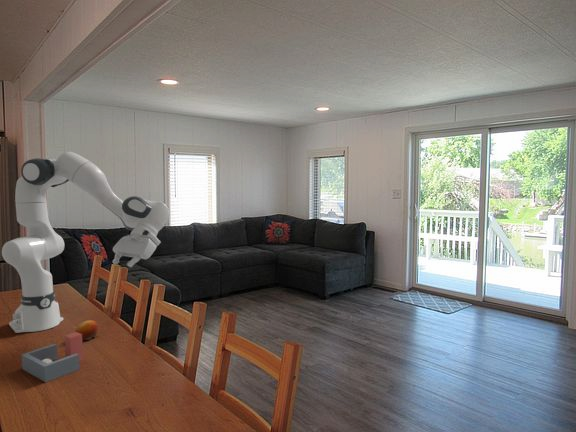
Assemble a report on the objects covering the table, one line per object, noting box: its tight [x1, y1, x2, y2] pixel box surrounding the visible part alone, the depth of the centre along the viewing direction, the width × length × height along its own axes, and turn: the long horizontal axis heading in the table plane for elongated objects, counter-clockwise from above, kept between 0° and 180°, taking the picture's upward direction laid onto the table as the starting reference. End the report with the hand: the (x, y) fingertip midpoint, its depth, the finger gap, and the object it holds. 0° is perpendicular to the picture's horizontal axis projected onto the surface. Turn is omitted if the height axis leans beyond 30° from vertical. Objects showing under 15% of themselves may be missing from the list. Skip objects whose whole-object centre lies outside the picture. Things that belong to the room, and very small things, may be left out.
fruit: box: [75, 319, 99, 341], centre depth 159 cm, size 8×8×8 cm
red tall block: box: [63, 332, 85, 362], centre depth 139 cm, size 4×4×9 cm
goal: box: [20, 343, 81, 383], centre depth 133 cm, size 16×10×5 cm, turn 55°
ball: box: [42, 359, 54, 364], centre depth 132 cm, size 4×4×4 cm
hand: (121, 264), depth 155 cm, fingers open, 8 cm apart
